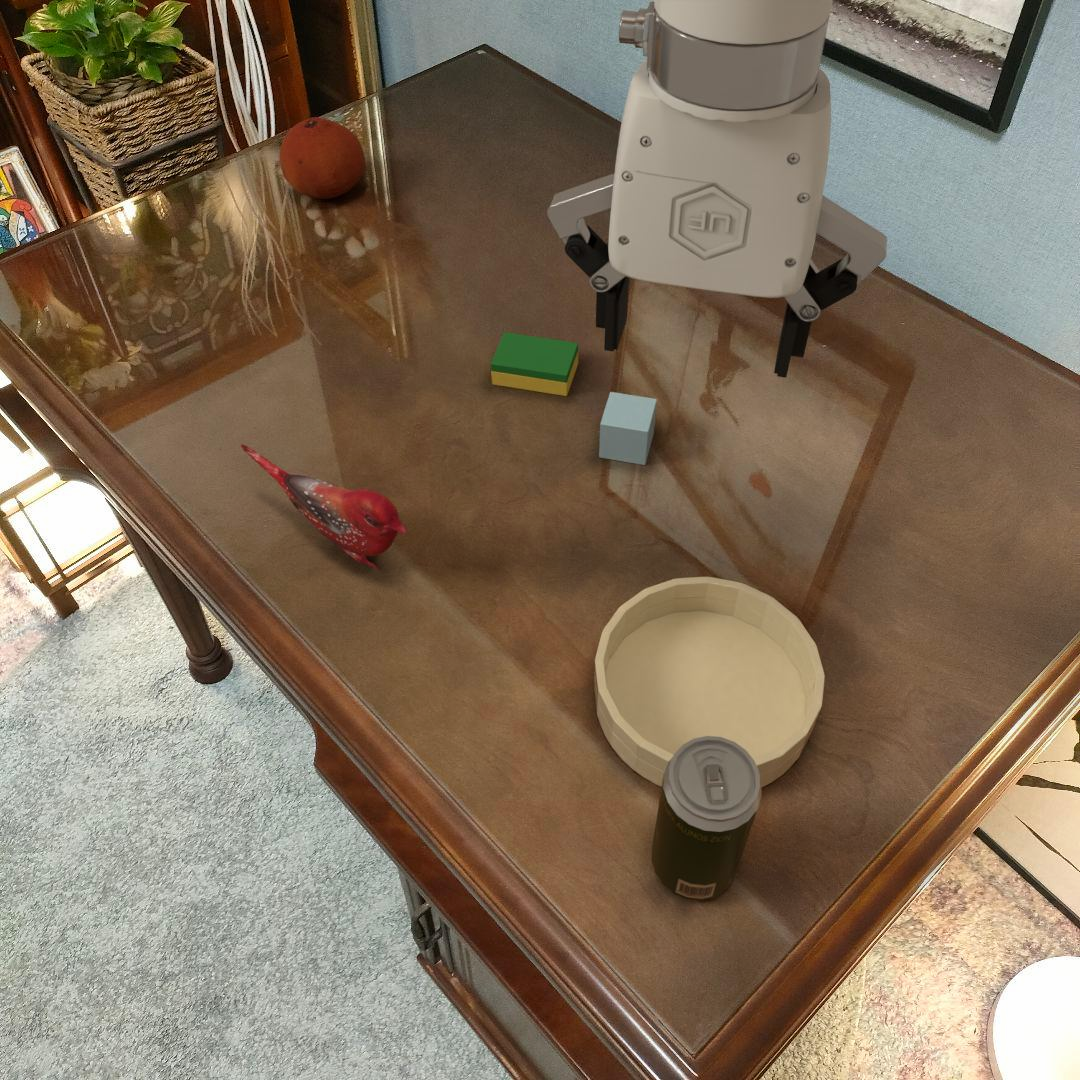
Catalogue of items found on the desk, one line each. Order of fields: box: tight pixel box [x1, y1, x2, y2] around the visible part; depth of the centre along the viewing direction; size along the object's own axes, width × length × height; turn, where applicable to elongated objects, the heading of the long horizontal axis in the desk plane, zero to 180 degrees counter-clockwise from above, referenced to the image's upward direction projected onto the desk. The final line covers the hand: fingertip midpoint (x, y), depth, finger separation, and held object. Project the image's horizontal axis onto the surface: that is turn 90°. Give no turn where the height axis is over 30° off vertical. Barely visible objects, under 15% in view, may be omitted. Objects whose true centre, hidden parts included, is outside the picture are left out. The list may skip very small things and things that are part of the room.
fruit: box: [279, 116, 366, 200], centre depth 110 cm, size 9×9×8 cm
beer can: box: [651, 736, 763, 902], centre depth 60 cm, size 5×5×12 cm
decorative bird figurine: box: [240, 444, 408, 571], centre depth 77 cm, size 3×18×10 cm, turn 53°
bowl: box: [593, 576, 826, 789], centre depth 70 cm, size 15×15×4 cm
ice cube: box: [598, 391, 658, 466], centre depth 86 cm, size 4×4×4 cm
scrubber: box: [490, 331, 579, 397], centre depth 92 cm, size 7×4×2 cm, turn 76°
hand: (697, 348), depth 58 cm, fingers open, 9 cm apart
